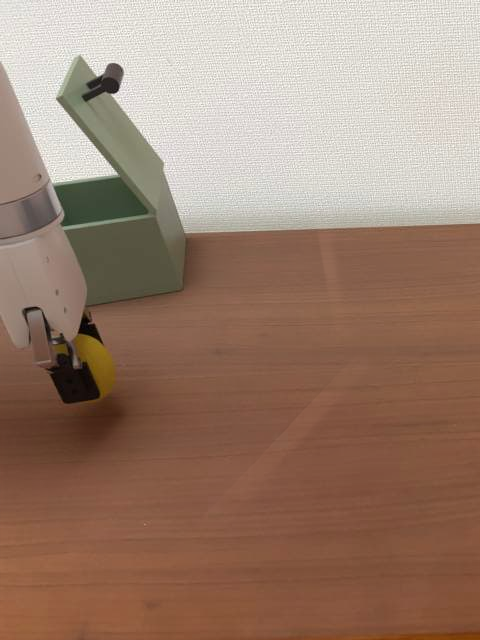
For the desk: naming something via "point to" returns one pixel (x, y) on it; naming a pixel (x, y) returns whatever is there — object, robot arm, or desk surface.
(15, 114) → the robot arm
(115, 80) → the lid
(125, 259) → the chest
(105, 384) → the lemon
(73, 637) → the desk surface
